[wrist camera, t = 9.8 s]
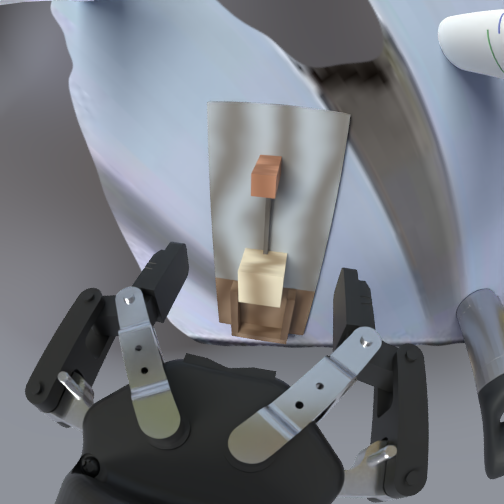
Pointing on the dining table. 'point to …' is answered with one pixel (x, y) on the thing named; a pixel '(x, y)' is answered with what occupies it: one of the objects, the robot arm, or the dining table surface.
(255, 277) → the rod-linked blocks
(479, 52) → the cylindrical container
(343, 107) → the dining table surface
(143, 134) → the dining table surface
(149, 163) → the dining table surface
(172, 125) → the dining table surface
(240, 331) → the lane rack
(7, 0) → the bottle
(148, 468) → the robot arm
